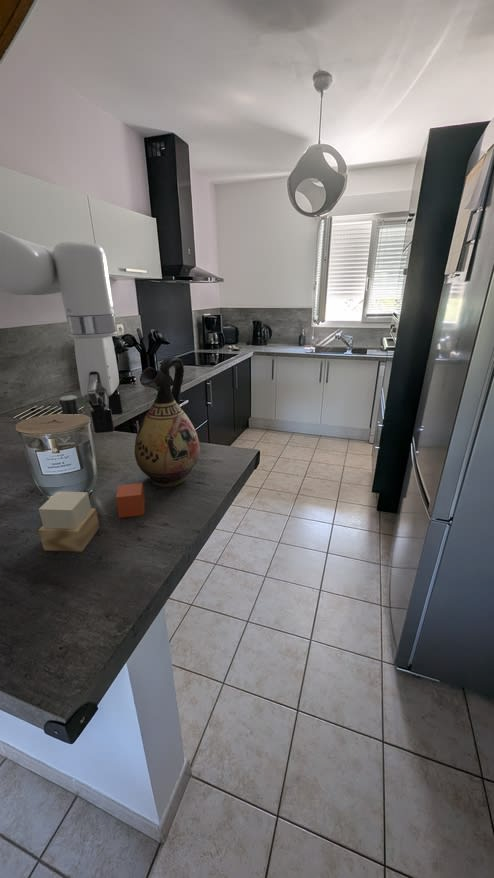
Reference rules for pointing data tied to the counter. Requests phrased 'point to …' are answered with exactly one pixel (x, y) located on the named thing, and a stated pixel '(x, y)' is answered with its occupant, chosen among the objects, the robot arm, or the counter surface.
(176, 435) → the ceramic jug
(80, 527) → the base block
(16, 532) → the counter surface
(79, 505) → the middle block
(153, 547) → the counter surface
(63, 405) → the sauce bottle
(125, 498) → the toy cube
